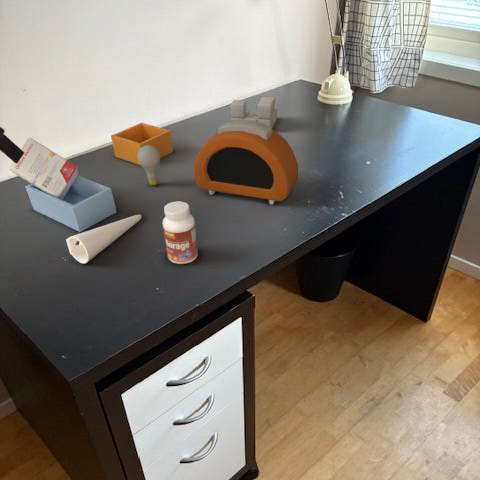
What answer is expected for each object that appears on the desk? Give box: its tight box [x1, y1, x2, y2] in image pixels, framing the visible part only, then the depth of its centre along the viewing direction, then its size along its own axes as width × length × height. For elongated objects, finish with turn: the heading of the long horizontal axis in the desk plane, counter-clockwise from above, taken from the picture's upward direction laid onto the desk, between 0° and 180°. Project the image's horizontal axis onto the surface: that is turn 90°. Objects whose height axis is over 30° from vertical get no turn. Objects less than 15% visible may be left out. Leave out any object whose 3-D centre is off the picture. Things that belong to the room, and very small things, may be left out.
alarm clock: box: [193, 120, 299, 205], centre depth 110 cm, size 23×9×17 cm, turn 68°
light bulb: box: [137, 145, 161, 186], centre depth 117 cm, size 5×6×10 cm
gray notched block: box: [230, 96, 278, 130], centre depth 146 cm, size 12×12×8 cm
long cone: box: [65, 214, 142, 264], centre depth 100 cm, size 6×6×19 cm
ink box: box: [9, 137, 80, 200], centre depth 108 cm, size 9×5×12 cm
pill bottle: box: [162, 200, 199, 265], centre depth 93 cm, size 6×6×11 cm
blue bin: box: [24, 175, 117, 233], centre depth 110 cm, size 18×11×6 cm, turn 52°
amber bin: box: [110, 122, 174, 166], centre depth 133 cm, size 12×12×6 cm
